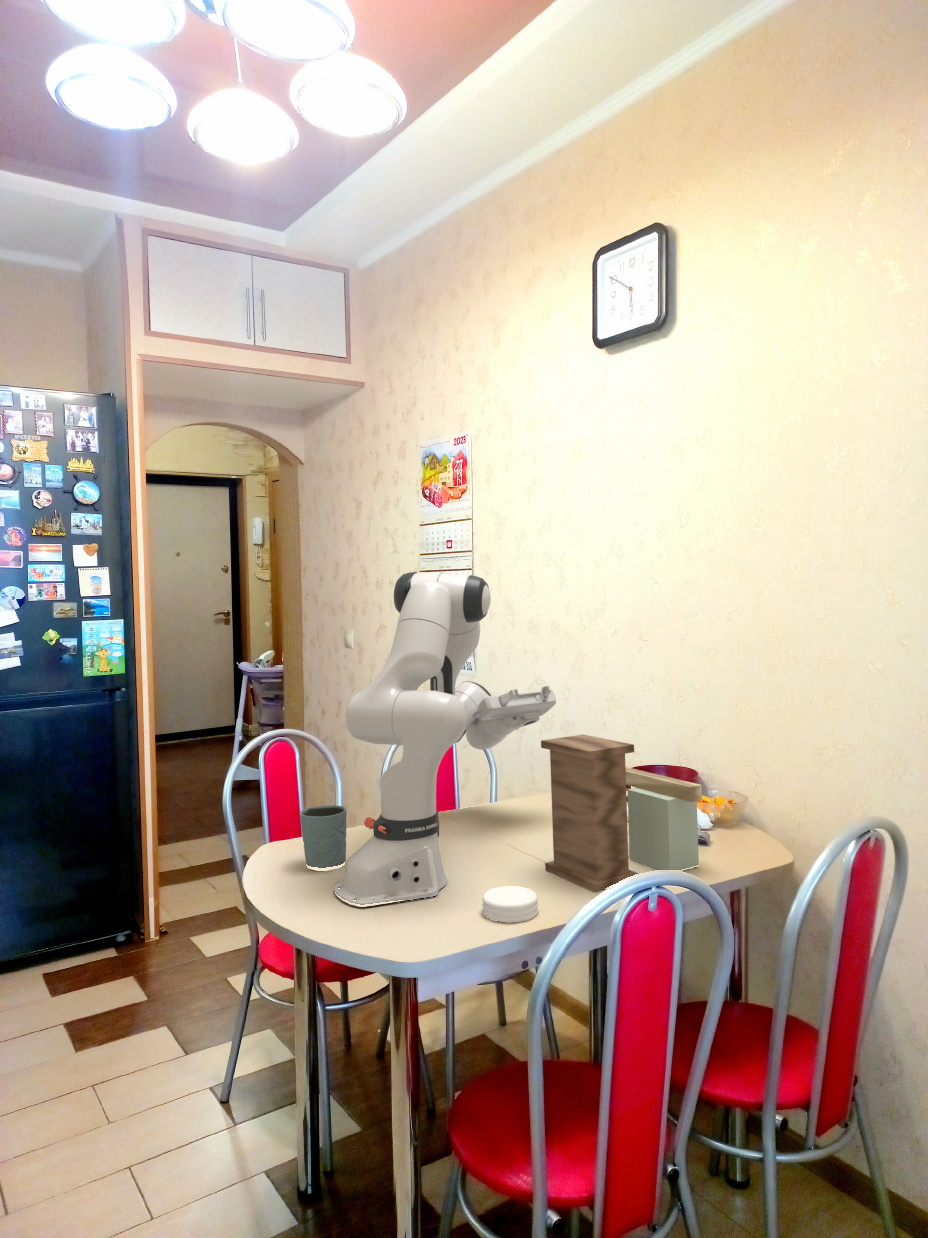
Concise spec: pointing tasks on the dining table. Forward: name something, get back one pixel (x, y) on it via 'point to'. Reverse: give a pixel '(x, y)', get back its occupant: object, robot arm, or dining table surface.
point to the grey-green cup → (324, 835)
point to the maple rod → (664, 785)
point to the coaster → (510, 904)
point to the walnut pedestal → (589, 810)
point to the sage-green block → (662, 830)
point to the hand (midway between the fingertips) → (532, 690)
